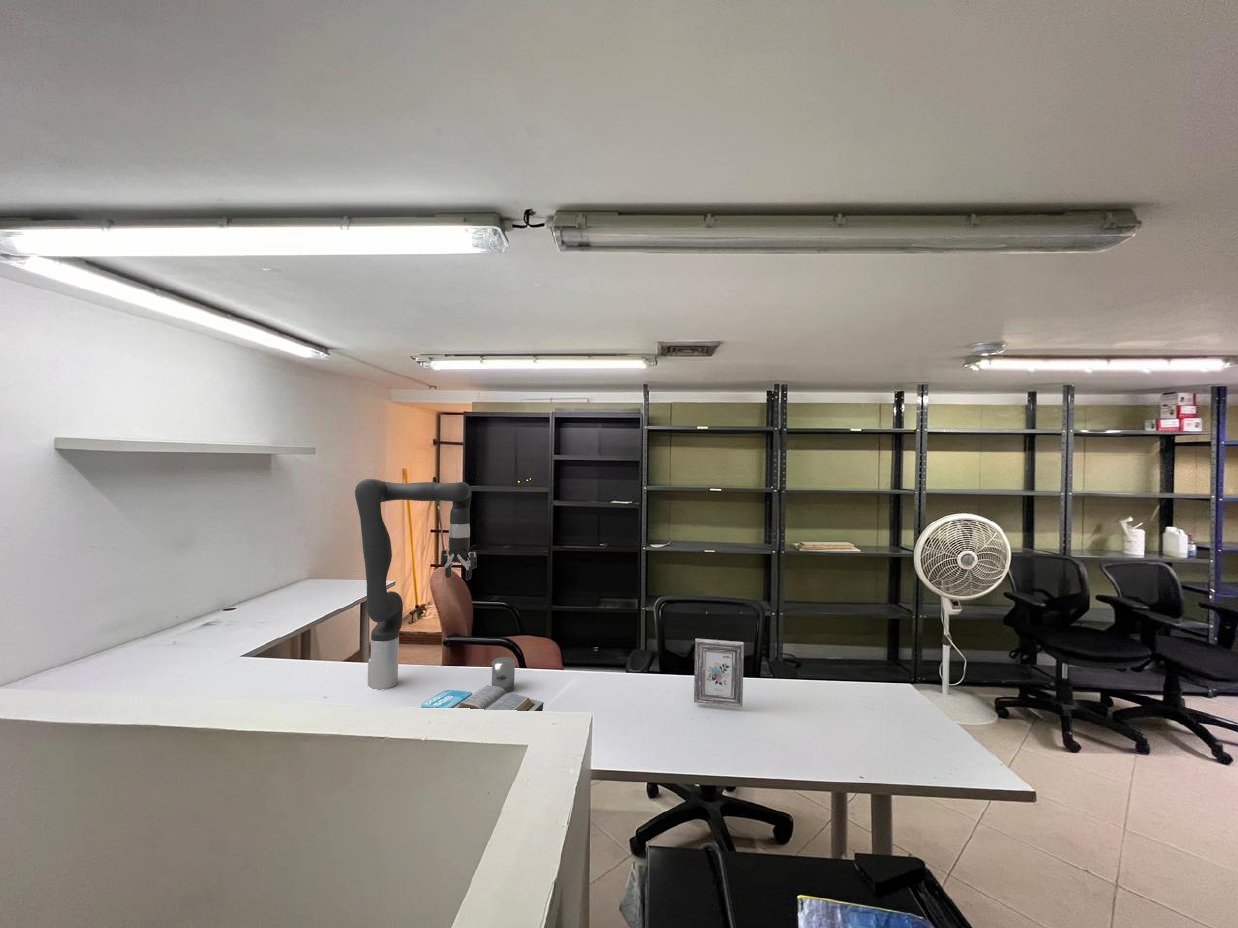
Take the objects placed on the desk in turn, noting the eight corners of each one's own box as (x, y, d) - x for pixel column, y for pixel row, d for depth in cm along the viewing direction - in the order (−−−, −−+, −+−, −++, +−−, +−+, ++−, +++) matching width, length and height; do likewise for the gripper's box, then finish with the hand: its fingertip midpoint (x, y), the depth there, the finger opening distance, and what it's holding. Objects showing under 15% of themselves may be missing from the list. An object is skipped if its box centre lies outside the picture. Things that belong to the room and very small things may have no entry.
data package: (448, 708, 150) (418, 704, 155) (449, 723, 150) (419, 719, 155) (474, 691, 161) (445, 689, 166) (475, 705, 161) (446, 702, 166)
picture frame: (693, 702, 170) (695, 640, 170) (693, 699, 172) (695, 638, 172) (742, 707, 167) (744, 644, 167) (742, 704, 170) (743, 641, 170)
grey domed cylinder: (487, 691, 174) (487, 663, 174) (499, 682, 182) (499, 655, 182) (507, 695, 172) (507, 666, 172) (518, 685, 180) (518, 658, 180)
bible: (491, 701, 168) (491, 673, 168) (552, 724, 154) (553, 693, 154) (434, 732, 148) (434, 700, 148) (498, 762, 134) (499, 726, 134)
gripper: (436, 535, 182) (435, 579, 182) (469, 538, 177) (468, 582, 177) (449, 533, 189) (448, 575, 189) (481, 535, 185) (480, 578, 185)
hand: (458, 578), depth 183 cm, fingers open, 8 cm apart
